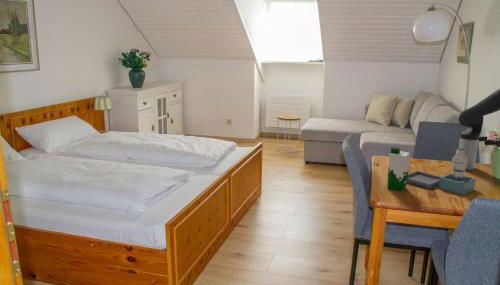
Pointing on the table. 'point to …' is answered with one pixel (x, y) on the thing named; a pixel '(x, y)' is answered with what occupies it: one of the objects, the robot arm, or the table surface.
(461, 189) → the teal open box
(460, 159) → the plastic bottle
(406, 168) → the milk carton
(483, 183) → the table surface
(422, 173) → the tray
